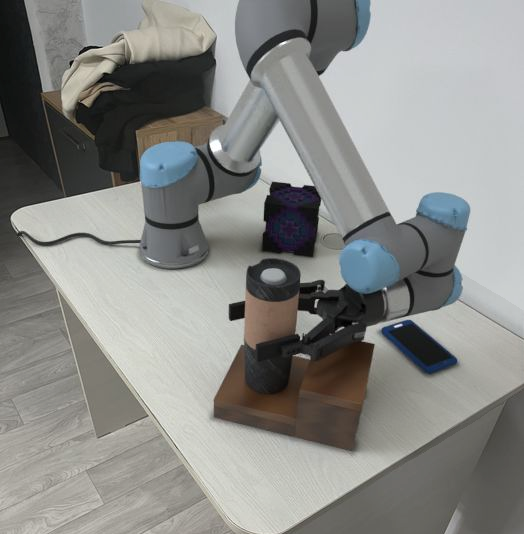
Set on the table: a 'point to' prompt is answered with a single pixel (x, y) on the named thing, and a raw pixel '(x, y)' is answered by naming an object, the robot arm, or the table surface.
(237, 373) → the walnut shelf
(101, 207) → the table surface
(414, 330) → the cell phone
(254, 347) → the travel mug
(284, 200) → the energy cube
